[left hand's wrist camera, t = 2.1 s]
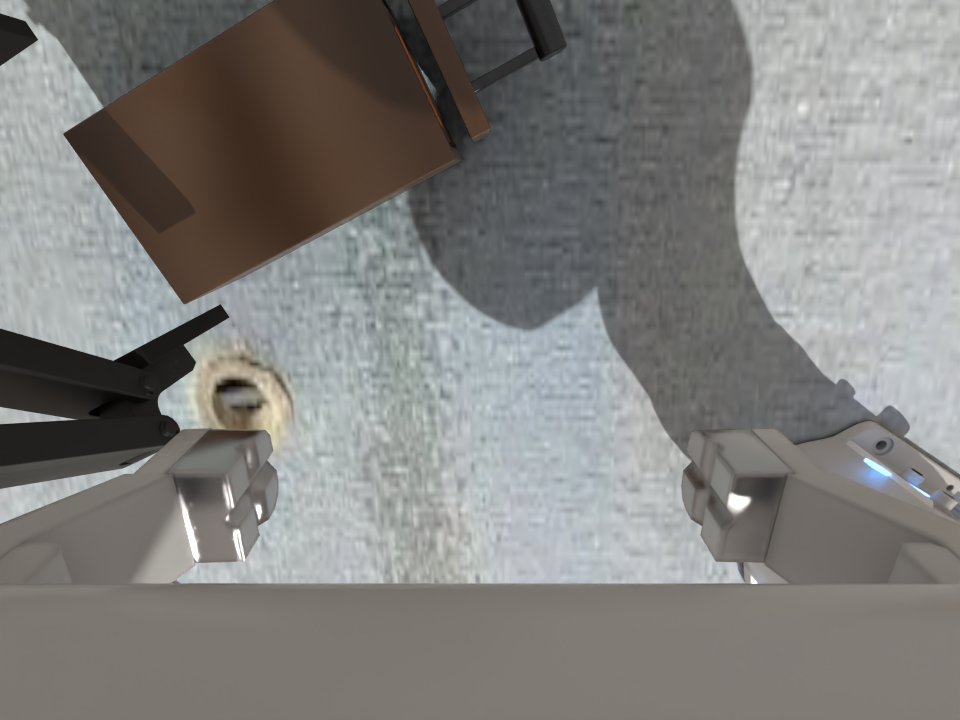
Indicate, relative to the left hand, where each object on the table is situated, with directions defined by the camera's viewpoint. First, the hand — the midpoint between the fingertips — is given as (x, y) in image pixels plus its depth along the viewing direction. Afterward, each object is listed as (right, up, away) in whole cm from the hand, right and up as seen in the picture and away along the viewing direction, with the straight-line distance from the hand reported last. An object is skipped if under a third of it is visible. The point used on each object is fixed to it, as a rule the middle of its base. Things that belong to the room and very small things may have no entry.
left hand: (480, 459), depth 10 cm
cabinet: (-12, +17, +26) cm, 33 cm away
